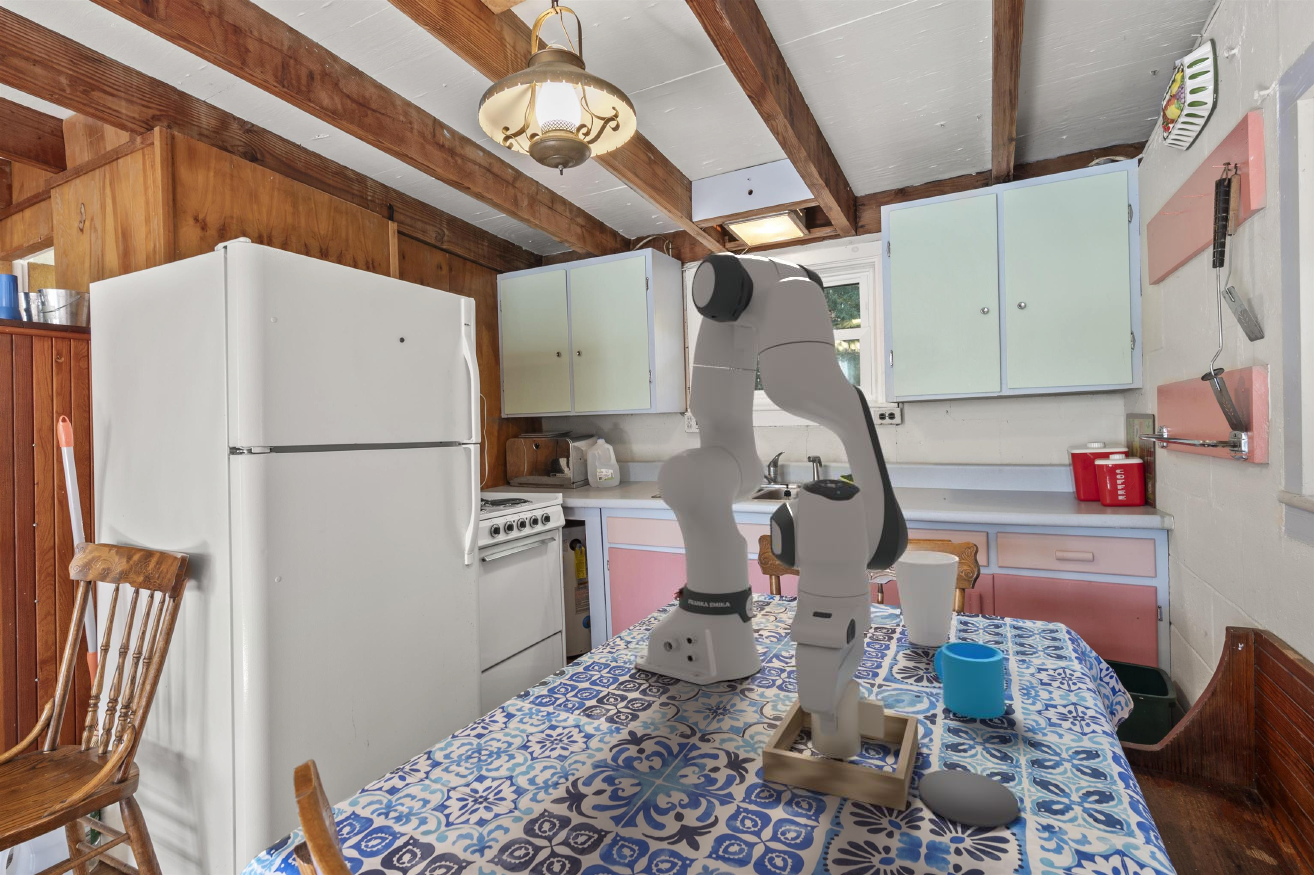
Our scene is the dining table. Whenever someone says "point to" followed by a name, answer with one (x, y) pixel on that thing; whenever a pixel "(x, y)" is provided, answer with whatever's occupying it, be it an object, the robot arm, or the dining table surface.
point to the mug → (972, 679)
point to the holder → (842, 763)
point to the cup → (927, 594)
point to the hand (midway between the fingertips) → (836, 719)
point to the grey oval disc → (968, 798)
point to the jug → (850, 724)
